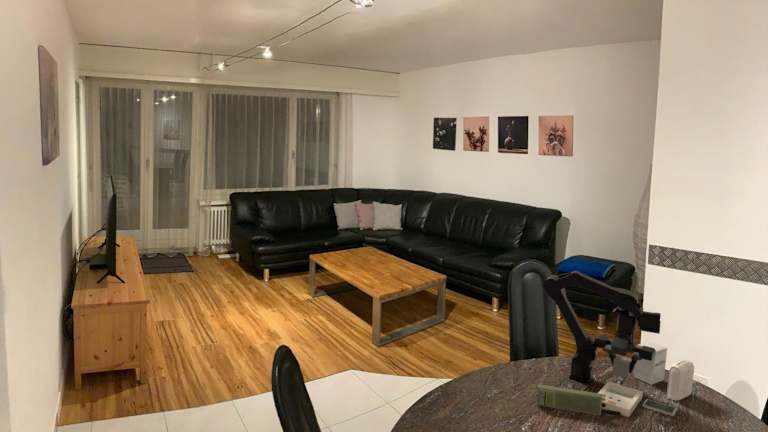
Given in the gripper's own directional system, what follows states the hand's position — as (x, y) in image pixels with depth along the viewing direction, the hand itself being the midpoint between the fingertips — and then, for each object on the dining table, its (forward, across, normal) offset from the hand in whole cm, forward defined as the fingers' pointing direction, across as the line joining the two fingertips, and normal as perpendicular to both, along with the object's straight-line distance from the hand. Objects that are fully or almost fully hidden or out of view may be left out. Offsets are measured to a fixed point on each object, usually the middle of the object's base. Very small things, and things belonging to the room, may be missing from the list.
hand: (622, 370), depth 180 cm
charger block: (+1, 0, 0) cm, 1 cm away
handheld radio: (+6, -6, -26) cm, 28 cm away
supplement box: (+6, +6, +14) cm, 16 cm away
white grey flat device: (+6, +2, -12) cm, 14 cm away
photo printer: (+6, +17, +6) cm, 19 cm away
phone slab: (+6, +14, -8) cm, 17 cm away
